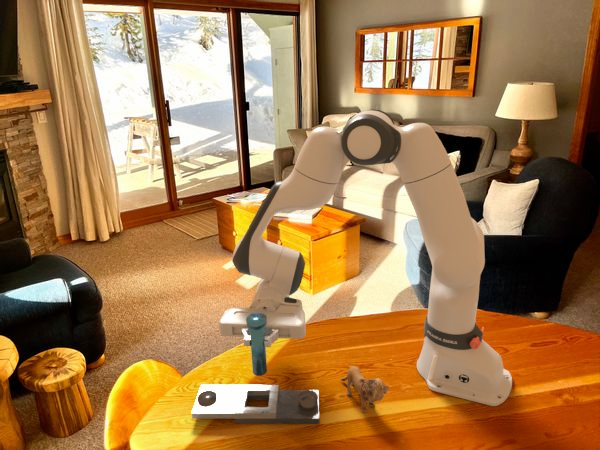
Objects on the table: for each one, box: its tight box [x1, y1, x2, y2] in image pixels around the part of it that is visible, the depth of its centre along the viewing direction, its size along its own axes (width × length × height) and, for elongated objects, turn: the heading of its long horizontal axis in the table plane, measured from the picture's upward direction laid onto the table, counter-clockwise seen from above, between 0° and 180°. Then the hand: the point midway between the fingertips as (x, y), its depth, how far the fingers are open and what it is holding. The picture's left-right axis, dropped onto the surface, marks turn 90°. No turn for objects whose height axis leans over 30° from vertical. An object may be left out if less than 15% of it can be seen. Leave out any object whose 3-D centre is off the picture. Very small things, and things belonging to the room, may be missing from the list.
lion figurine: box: [340, 365, 390, 413], centre depth 107 cm, size 15×5×9 cm, turn 34°
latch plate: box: [191, 384, 320, 425], centre depth 105 cm, size 28×9×4 cm, turn 88°
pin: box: [246, 313, 268, 377], centre depth 102 cm, size 4×4×14 cm
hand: (257, 344), depth 101 cm, fingers closed on pin, 3 cm apart
